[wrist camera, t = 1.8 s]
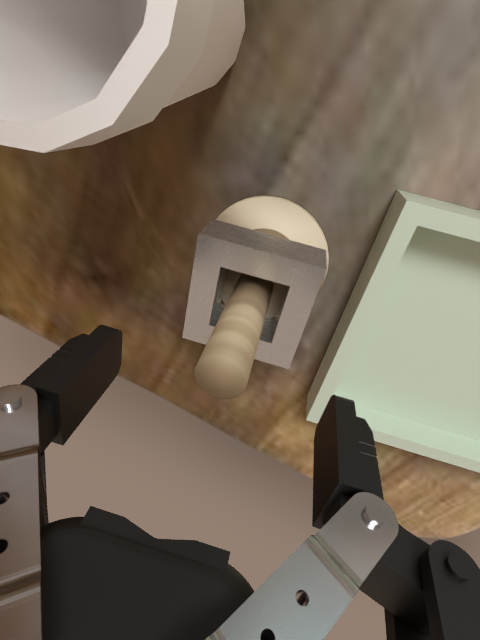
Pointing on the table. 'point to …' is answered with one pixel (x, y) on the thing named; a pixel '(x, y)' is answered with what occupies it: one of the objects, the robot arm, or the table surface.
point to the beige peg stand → (251, 295)
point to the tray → (413, 334)
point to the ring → (260, 261)
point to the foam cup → (106, 64)
